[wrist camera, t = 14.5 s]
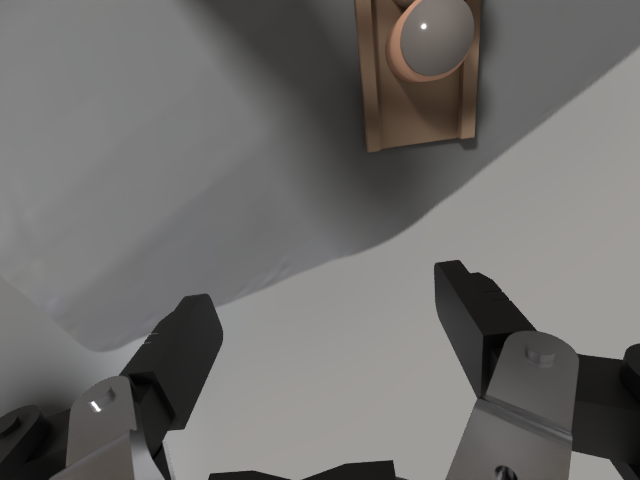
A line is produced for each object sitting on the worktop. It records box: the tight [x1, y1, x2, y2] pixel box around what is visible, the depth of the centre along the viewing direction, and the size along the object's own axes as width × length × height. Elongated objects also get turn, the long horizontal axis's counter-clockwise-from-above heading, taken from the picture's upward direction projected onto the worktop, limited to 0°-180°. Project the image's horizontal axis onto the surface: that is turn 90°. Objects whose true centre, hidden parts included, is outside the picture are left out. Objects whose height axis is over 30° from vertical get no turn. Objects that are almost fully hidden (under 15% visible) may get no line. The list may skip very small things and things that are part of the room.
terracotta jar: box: [385, 0, 474, 83], centre depth 25 cm, size 6×6×6 cm
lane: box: [354, 0, 481, 153], centre depth 25 cm, size 22×10×5 cm, turn 8°
